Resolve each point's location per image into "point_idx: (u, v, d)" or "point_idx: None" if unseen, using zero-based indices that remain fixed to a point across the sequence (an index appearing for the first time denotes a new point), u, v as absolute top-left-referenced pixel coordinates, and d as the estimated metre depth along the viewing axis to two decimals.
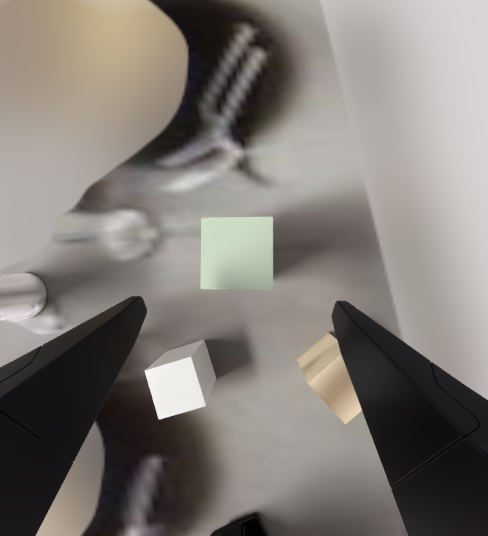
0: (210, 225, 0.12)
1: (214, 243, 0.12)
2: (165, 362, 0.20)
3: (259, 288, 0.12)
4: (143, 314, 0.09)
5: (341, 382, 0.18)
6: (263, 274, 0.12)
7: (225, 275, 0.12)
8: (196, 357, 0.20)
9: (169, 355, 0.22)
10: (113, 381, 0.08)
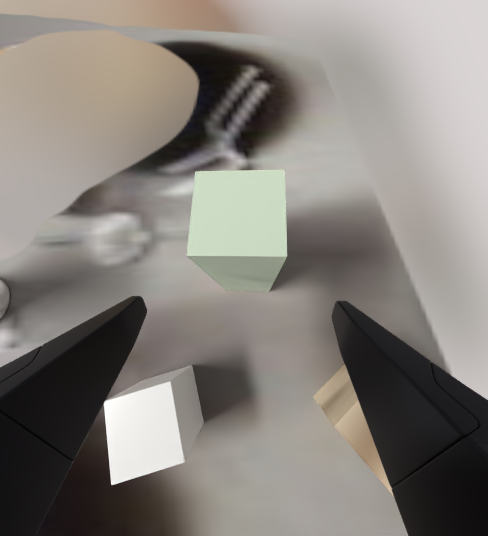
0: (206, 179, 0.10)
1: (209, 200, 0.09)
2: (134, 390, 0.15)
3: (268, 255, 0.09)
4: (143, 314, 0.09)
5: None
6: (272, 236, 0.09)
7: (221, 237, 0.09)
8: (178, 384, 0.15)
9: (143, 383, 0.17)
10: (113, 381, 0.08)
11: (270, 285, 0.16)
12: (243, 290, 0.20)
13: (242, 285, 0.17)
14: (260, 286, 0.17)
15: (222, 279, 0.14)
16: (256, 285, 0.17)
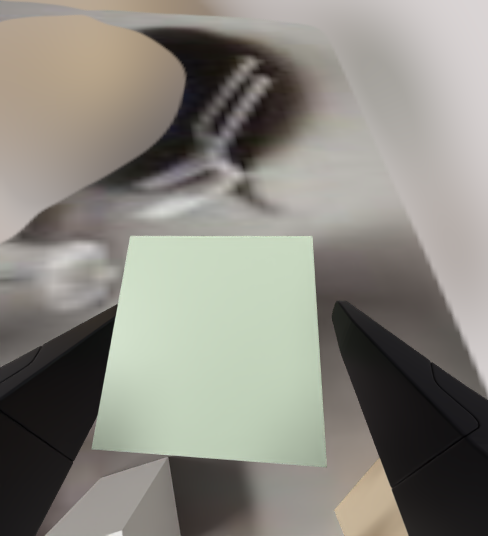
0: (150, 254, 0.05)
1: (154, 303, 0.04)
2: None
3: (280, 459, 0.04)
4: None
5: None
6: (291, 405, 0.04)
7: (173, 402, 0.04)
8: (137, 521, 0.10)
9: (93, 501, 0.12)
10: None
11: None
12: None
13: None
14: None
15: None
16: None
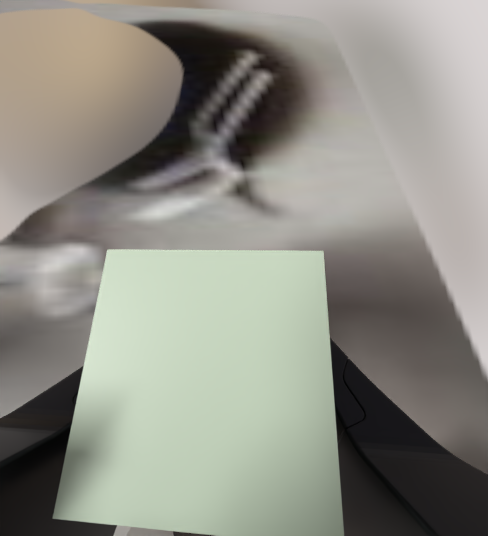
0: (130, 272, 0.04)
1: (133, 332, 0.04)
2: None
3: None
4: None
5: None
6: (299, 465, 0.03)
7: (153, 458, 0.03)
8: None
9: None
10: None
11: None
12: None
13: None
14: None
15: None
16: None
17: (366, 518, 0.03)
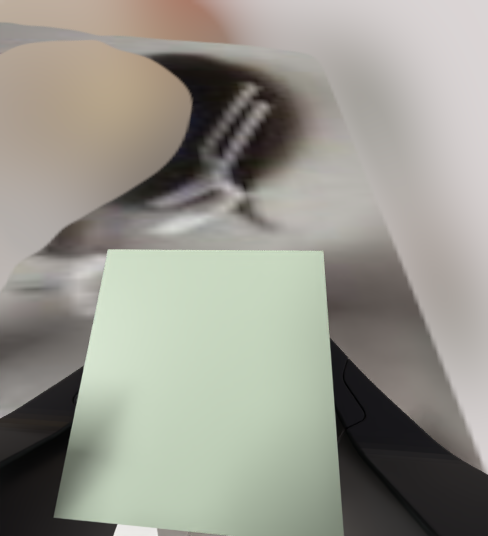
0: (130, 272, 0.04)
1: (133, 332, 0.04)
2: None
3: (286, 535, 0.03)
4: None
5: None
6: (299, 465, 0.03)
7: (154, 457, 0.03)
8: None
9: None
10: None
11: None
12: None
13: None
14: None
15: None
16: None
17: (366, 518, 0.03)
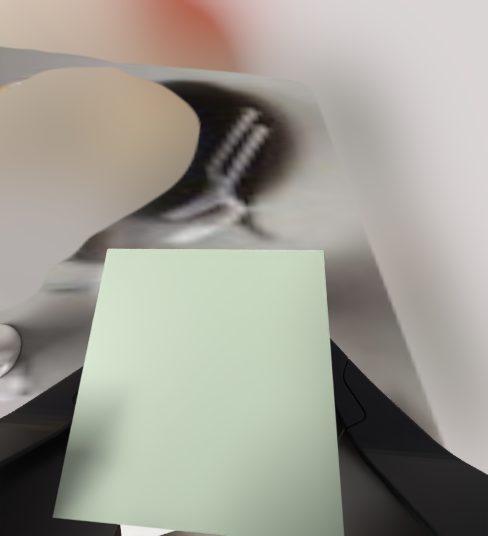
0: (130, 271, 0.04)
1: (133, 332, 0.04)
2: None
3: (286, 535, 0.03)
4: None
5: None
6: (299, 465, 0.03)
7: (154, 457, 0.03)
8: None
9: None
10: None
11: None
12: None
13: None
14: None
15: None
16: None
17: (366, 518, 0.03)
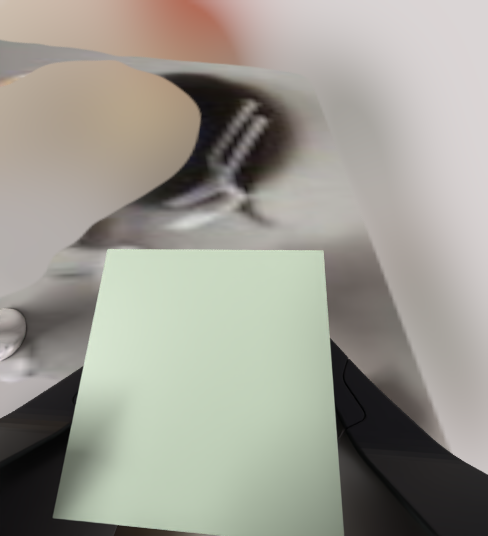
0: (130, 272, 0.04)
1: (133, 332, 0.04)
2: None
3: (286, 535, 0.03)
4: None
5: None
6: (299, 465, 0.03)
7: (153, 458, 0.03)
8: None
9: None
10: None
11: None
12: None
13: None
14: None
15: None
16: None
17: (366, 518, 0.03)
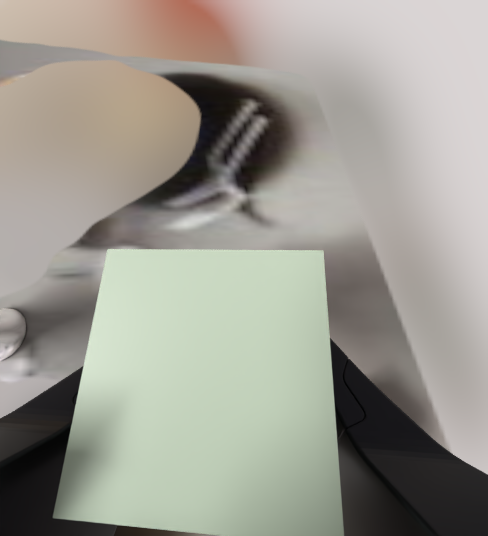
0: (130, 272, 0.04)
1: (133, 332, 0.04)
2: None
3: (286, 535, 0.03)
4: None
5: None
6: (299, 465, 0.03)
7: (153, 458, 0.03)
8: None
9: None
10: None
11: None
12: None
13: None
14: None
15: None
16: None
17: (366, 518, 0.03)
